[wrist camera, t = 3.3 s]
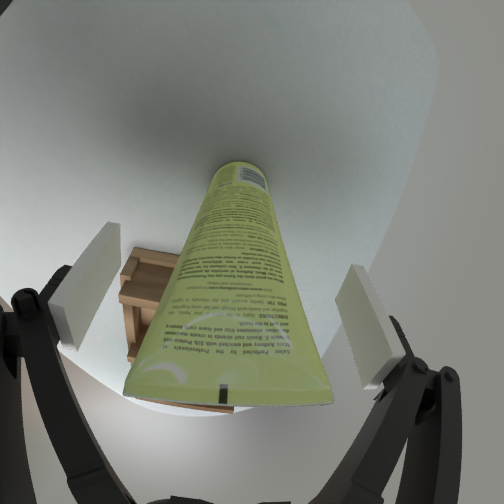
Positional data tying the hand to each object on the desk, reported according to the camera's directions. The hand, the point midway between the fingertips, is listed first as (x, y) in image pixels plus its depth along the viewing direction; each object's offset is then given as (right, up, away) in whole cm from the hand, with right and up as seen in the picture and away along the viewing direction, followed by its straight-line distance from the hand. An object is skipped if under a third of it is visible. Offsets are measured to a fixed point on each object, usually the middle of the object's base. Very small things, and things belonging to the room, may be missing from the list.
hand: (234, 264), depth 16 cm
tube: (0, +6, +9) cm, 11 cm away
